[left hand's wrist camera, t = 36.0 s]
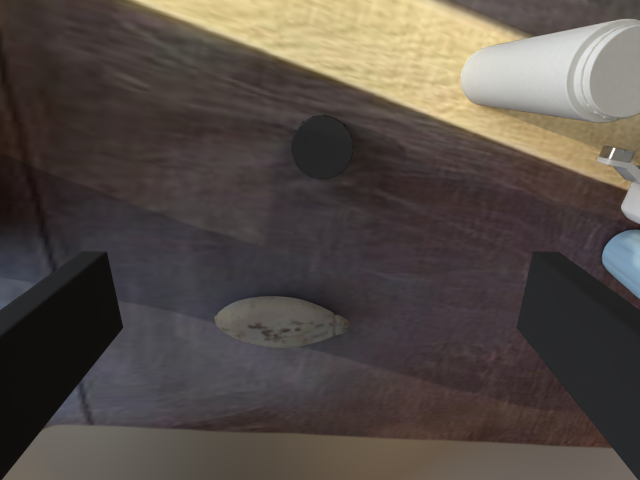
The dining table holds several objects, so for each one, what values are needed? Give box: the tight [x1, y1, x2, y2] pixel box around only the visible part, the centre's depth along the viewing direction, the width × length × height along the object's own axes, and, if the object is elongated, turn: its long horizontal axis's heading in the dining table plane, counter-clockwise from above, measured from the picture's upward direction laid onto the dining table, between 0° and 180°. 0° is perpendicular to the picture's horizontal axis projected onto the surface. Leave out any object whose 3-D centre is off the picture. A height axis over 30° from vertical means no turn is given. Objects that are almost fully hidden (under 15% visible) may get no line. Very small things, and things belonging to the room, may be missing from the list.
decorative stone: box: [214, 296, 349, 348], centre depth 46 cm, size 6×16×3 cm, turn 87°
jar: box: [461, 19, 640, 123], centre depth 29 cm, size 5×5×19 cm
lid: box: [291, 115, 354, 179], centre depth 40 cm, size 6×6×2 cm
